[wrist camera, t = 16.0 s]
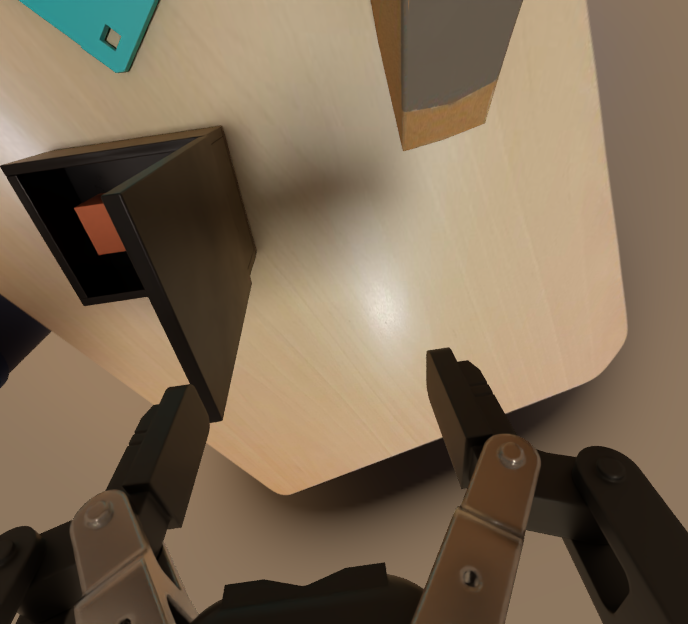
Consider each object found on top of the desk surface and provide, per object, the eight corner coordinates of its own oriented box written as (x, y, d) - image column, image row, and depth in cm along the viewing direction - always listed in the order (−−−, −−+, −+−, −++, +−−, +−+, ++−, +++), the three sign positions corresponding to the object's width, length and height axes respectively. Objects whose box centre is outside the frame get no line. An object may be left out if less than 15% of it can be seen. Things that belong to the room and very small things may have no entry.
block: (119, 237, 37) (98, 255, 34) (98, 194, 35) (73, 207, 31) (162, 231, 37) (146, 248, 34) (144, 187, 35) (124, 200, 31)
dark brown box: (115, 273, 40) (83, 306, 34) (51, 150, 33) (-2, 165, 28) (256, 252, 40) (248, 281, 35) (222, 125, 33) (204, 135, 28)
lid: (208, 423, 20) (222, 421, 20) (98, 196, 14) (120, 192, 14) (243, 284, 34) (252, 283, 34) (197, 136, 27) (208, 135, 27)
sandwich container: (400, 154, 36) (450, 195, 23) (357, -53, 28) (398, -160, 15) (487, 124, 35) (587, 150, 23) (469, -99, 27) (609, -250, 14)
